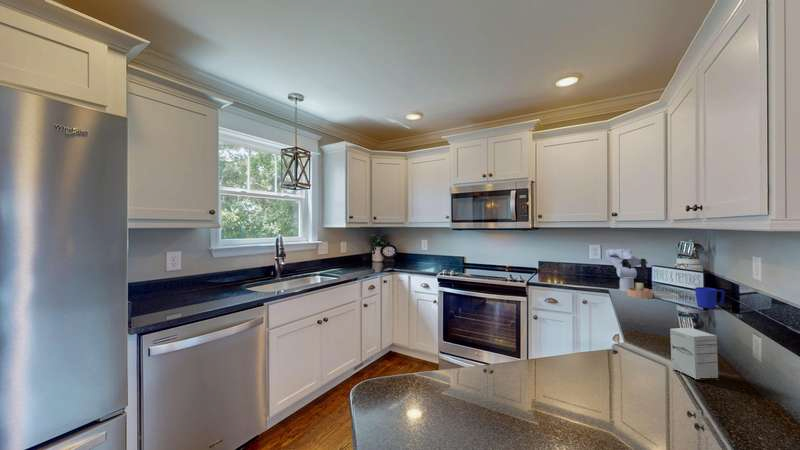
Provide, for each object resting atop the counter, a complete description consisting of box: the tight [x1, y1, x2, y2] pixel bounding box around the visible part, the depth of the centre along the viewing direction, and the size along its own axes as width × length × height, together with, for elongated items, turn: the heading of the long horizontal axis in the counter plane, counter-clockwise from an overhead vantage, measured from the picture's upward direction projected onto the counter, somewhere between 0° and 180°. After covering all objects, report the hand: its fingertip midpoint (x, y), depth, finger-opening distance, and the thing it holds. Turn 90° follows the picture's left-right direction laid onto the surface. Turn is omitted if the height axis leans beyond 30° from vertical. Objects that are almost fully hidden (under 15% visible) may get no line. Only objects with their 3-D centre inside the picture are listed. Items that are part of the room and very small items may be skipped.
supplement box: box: [669, 327, 719, 379], centre depth 89 cm, size 7×7×13 cm
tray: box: [653, 290, 681, 300], centre depth 187 cm, size 12×12×2 cm
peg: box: [634, 282, 645, 291], centre depth 188 cm, size 4×4×8 cm
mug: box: [694, 286, 725, 310], centre depth 160 cm, size 8×12×10 cm
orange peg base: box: [626, 287, 654, 299], centre depth 188 cm, size 13×13×5 cm
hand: (638, 267), depth 186 cm, fingers open, 7 cm apart
